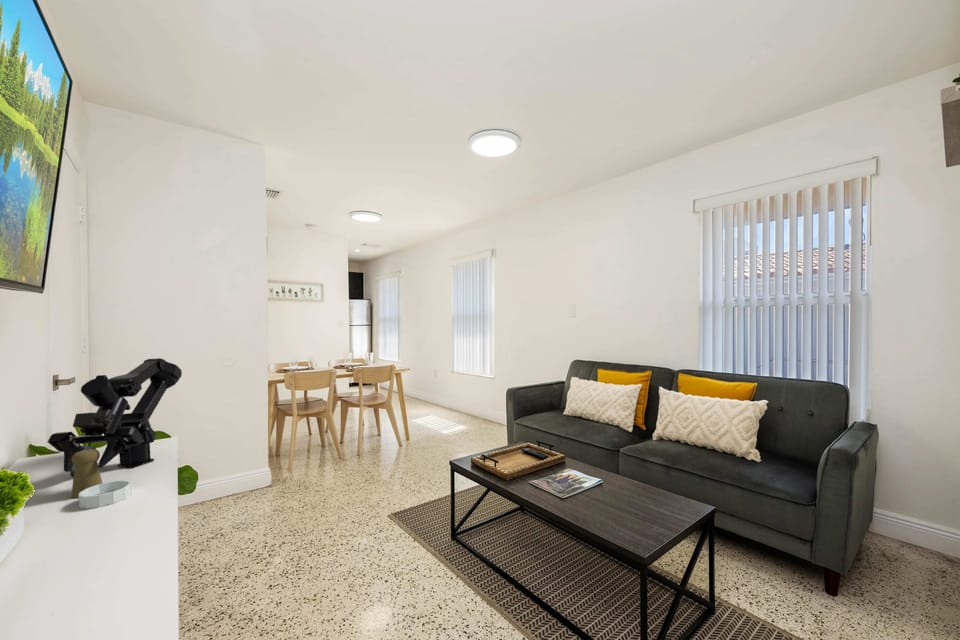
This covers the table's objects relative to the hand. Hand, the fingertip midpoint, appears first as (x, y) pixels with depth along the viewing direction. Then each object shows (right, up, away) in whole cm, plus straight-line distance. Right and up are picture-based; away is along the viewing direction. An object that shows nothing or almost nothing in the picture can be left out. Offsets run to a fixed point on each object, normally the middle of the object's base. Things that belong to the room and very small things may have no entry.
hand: (82, 469), depth 104 cm
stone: (-13, -7, +14) cm, 21 cm away
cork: (0, -7, +1) cm, 7 cm away
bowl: (+9, -6, -3) cm, 11 cm away
